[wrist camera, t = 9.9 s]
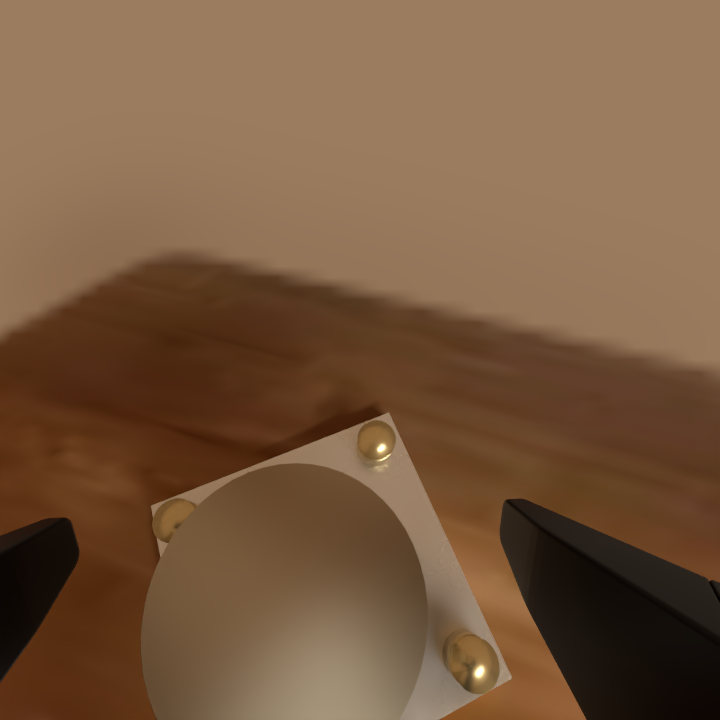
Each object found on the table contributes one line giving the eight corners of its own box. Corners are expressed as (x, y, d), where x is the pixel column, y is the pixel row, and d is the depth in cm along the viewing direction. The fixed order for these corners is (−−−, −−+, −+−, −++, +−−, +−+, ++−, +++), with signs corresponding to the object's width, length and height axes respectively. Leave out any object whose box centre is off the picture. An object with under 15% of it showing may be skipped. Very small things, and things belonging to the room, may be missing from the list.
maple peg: (340, 692, 15) (335, 884, 6) (228, 612, 16) (75, 672, 7) (404, 557, 17) (471, 546, 8) (300, 493, 18) (255, 419, 9)
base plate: (221, 831, 14) (197, 881, 12) (158, 508, 18) (133, 500, 16) (504, 673, 16) (529, 690, 14) (387, 418, 20) (392, 400, 18)
